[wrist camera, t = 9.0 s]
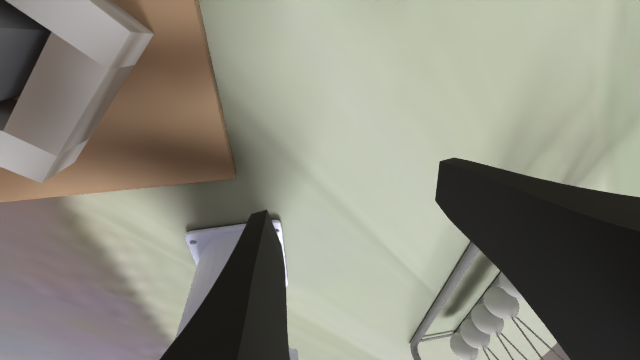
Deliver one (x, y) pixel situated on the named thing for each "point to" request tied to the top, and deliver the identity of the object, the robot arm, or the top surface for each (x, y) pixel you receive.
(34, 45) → the grey rectangular block
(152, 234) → the top surface
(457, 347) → the newton's cradle
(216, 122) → the duct base
